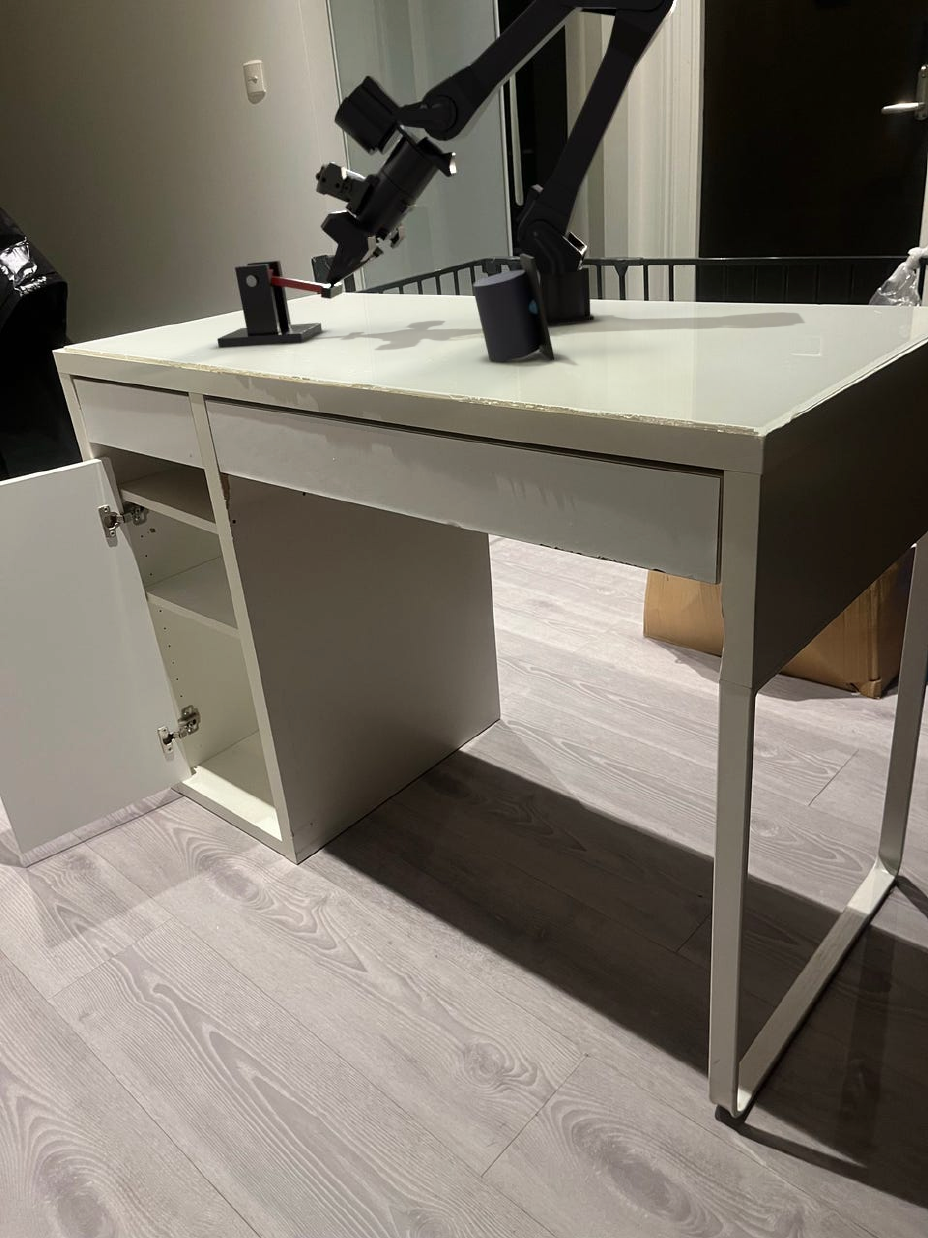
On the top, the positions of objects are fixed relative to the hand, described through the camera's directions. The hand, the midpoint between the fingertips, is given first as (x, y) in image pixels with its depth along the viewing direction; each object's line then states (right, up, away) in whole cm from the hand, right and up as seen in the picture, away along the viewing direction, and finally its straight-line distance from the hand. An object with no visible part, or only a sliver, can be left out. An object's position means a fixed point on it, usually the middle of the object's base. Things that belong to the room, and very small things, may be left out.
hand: (329, 282), depth 121 cm
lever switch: (-9, -6, +5) cm, 12 cm away
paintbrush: (-5, -1, +2) cm, 5 cm away
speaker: (+23, -16, -22) cm, 36 cm away
